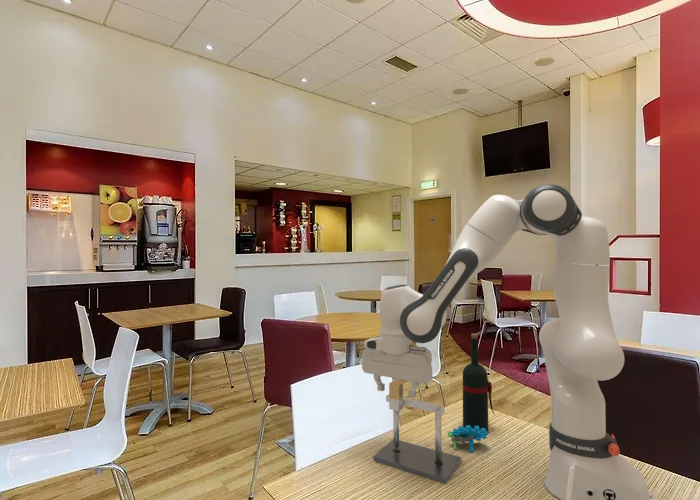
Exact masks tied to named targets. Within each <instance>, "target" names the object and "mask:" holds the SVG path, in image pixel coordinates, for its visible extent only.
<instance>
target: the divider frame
mask: <svg viewBox="0 0 700 500" xmlns="http://www.w3.org/2000/svg"><path fill="white" fill-rule="evenodd" d="M385 401H386V402H387V403H389V394H387V395H386V396H385ZM404 406H405V407H408V408H410V407H411V408H413V409H419V410H424V411H427V412H432V413H434V436H435V437H434V438H435V439H434V441H435V442H434V445H435V448H434V450H435V463H436V464H438V465H440V464H442V452H443V451H442V449H443V447H442V444H443V442H442V416H443V415H444V414H445V413H446V411H445V410H446V409H445V406H444V405H443V404H438V403H434V402H429V401H424V400H421V399H414V398H411V397H405V396H403V407H404Z"/></svg>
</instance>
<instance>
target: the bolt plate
mask: <svg viewBox="0 0 700 500" xmlns="http://www.w3.org/2000/svg"><path fill="white" fill-rule="evenodd" d="M373 462H376V463H379V464H382V465H385V466H389V467H392V468H394V469H397V470H401V471H404V472H407V473H411V474H413V475H416V476H420V477H423V478H426V479H429V480H432V481H435V482H439V483H441V484H445V485H447V483H448V481H449V480H450V478H451V477H452V475H454V473H455V471H456V470H457V469H458V467H459V466H460V464H461V462H462V457H461V456H457V455H454V454H451V453H447V452H443V451H442V464H440V465H438V464H436V463H435V449H432V448H428V447H427V446H426V447H425V446H421V445H418V444H414V443H411V442H407V441H405V440H404V441H403V440H400V439H399V448H398V449H395V447H394V438H392V439H391V440H390V441H389V442H388V443H387V444H386V445H385V446H383V448H381V449H380V450H379V451H377V452H376V453H375V455H373Z"/></svg>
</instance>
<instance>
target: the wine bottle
mask: <svg viewBox="0 0 700 500" xmlns="http://www.w3.org/2000/svg"><path fill="white" fill-rule="evenodd" d="M470 335H471V337H470V360H471V361H470V363H469V364H467V365H465V367H463V370H462V427H464V428H466V425H470V426H471V428H473V429H475V428H474V426H479V429H480V430H481V428H485V429H486V431H487V432H488V433H489V408H490V410H491V411H492V413H493V415H494V416H496V414H495V412H494V410H493V403H492V391H493V390H492V389H493V384H492V381H489V379H488V372H487V370H486V369H485V367H484V366H482V365H481V364H479V338H478V337H479V334H477V333H471V334H470Z"/></svg>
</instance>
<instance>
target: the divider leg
mask: <svg viewBox="0 0 700 500" xmlns="http://www.w3.org/2000/svg"><path fill="white" fill-rule="evenodd" d="M403 384H404V383H403V382H401V381H400V382H399V381H394V380H392V381H391V382H390V383H388V387H389V388H388V392H389V393H388V395H389V402H388V403H389V404H388V406H389V407H388V409H389V410H392V411H393V412H392V413H393V415H392V416H393V417H392V421H393V423H392V425H393V426H392V427H393V429H392V430H393V439H394V447H395V449H398V448H399V440H400V412H401V411H402V410H403V408H404V405H403V397H404V385H403Z"/></svg>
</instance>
